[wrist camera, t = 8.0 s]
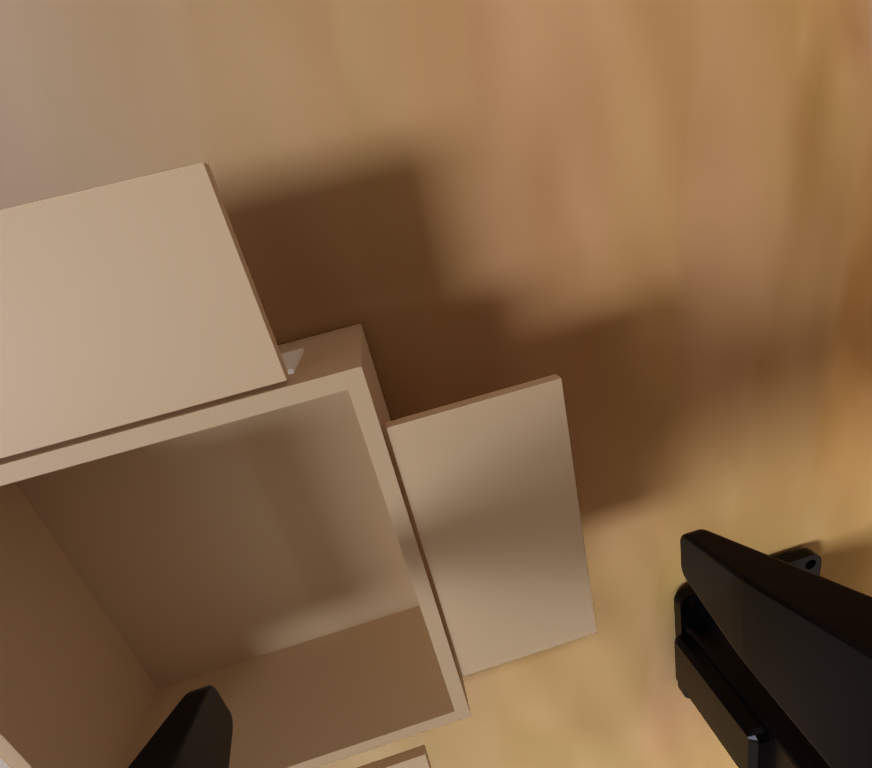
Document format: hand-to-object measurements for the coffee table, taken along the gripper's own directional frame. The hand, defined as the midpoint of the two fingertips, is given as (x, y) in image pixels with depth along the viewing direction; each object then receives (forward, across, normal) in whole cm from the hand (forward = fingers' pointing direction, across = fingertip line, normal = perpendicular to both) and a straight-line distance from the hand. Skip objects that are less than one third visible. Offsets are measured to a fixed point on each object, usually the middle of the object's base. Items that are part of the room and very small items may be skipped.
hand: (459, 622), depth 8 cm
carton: (+7, +4, -1) cm, 8 cm away
